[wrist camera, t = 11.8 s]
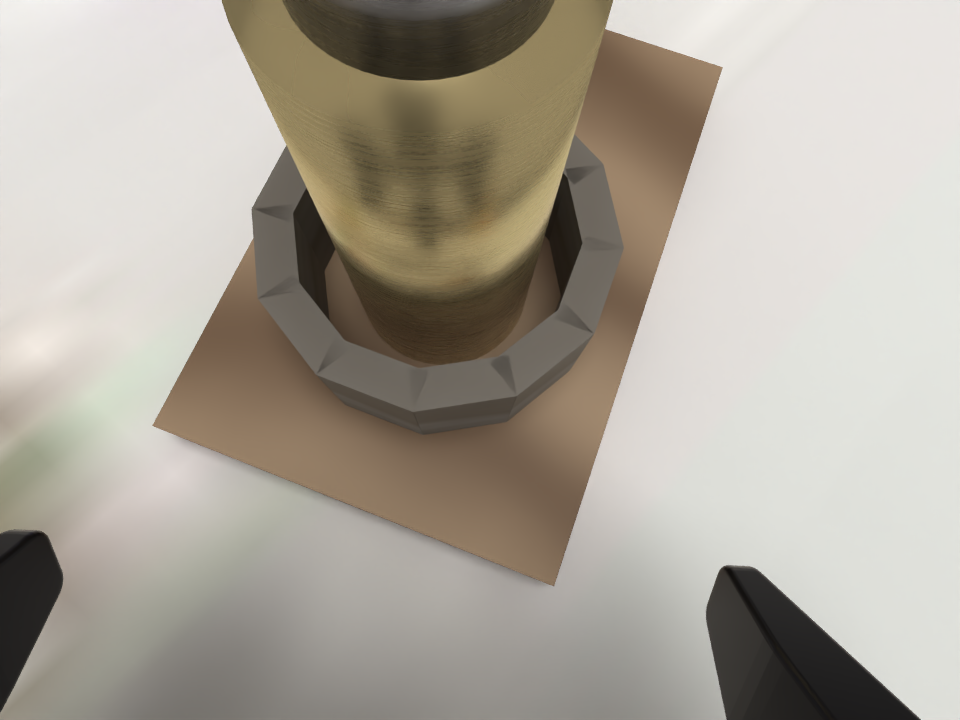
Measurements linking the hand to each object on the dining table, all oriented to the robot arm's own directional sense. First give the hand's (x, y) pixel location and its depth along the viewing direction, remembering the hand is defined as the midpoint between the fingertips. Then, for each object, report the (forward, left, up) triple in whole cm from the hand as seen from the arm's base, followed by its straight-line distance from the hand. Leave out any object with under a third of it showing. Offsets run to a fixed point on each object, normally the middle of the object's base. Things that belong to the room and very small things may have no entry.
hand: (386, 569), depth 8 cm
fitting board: (+9, +2, -10) cm, 14 cm away
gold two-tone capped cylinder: (+7, +2, -8) cm, 11 cm away
